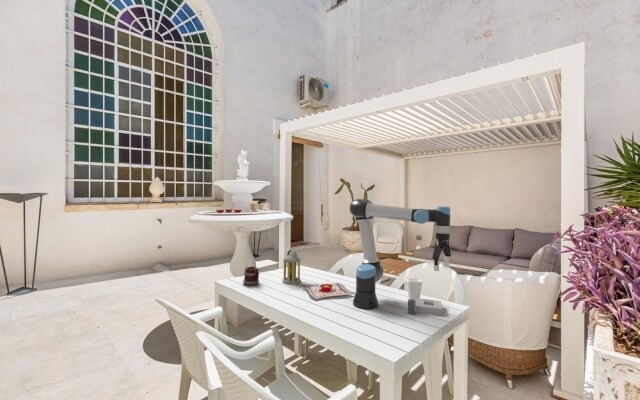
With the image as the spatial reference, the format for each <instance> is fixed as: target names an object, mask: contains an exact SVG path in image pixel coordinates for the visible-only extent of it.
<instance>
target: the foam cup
mask: <svg viewBox="0 0 640 400" xmlns="http://www.w3.org/2000/svg"><path fill="white" fill-rule="evenodd" d="M422 286H423V280H422V279H420V278H415V277H413V278H412V277H408V278H406V287H407V288H406V289H407V296H408V299H410V298H412V299H413V300H417V298H420V299H421V292H422ZM415 303H416V301H415Z"/></svg>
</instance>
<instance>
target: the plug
mask: <svg viewBox="0 0 640 400" xmlns="http://www.w3.org/2000/svg"><path fill="white" fill-rule="evenodd" d="M415 301H416V300H413V299H412V298H410V299H409V298H407V311H406V312H407V313H406V314H407V315H413V316H415V315H416V312H415V306H416V302H415Z"/></svg>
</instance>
